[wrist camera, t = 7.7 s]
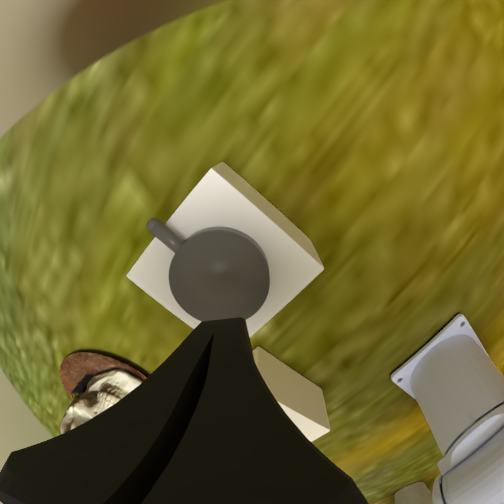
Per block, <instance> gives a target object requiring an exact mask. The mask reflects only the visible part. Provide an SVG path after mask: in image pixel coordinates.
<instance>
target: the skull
mask: <svg viewBox="0 0 504 504" xmlns="http://www.w3.org/2000/svg"><path fill="white" fill-rule="evenodd" d="M82 362H83V363H82ZM60 375H61V379H62V382H63V384H64V387H65V389H66V391H67V392H68V393H69V395H70V397H71V398H72V399H73V396H72V393H74V392H76V393H79V394H78V395H77V396H76V395H75V397H74V399H73V401H72V403H71V404H70V406H69V408H68V409H67V411H66V413H65V415H64V417H63V419H62V422H61V425H60V427H61V434H63V433H65V432H67V431H70V430H72V429H73V428H75V427H77V426H79V425H81V424H83V423H85V422H87V421H88V420H90V419H92V418H93V417H95V416H96V415H98V414H100V413H101V412H103V411H104V410H106V409H108V408H109V407H111V406H112V405H114V404H115V403H117V402H118V401H119V400H121V399H122V398H123V397H125V396H126V395H127V394H129V393H130V392H131V391H132V390H134V389H135V388H136V387H137V386H139V385H140V384H141V383H142V382H143V381H144V380H145V379H146V378H147V377H146V376H144V375H143V374H142V373H140V372H139V371H138V370H135V369H133V367H131V366H129V365H127V364H125V363H122V362H120V361H118V360H115V359H112V358H110V357H106V356H103V355H101V354H100V355H99V354H97V353H91V352H90V353H87V352H86V353H85V352H81V353H80V351H79V352H78V353H73V354H71V355H68V356H67V357H66V358H65V359H64V360H63V362H62V364H61V366H60ZM76 393H74V394H76Z"/></svg>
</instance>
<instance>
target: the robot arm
mask: <svg viewBox="0 0 504 504" xmlns="http://www.w3.org/2000/svg"><path fill="white" fill-rule="evenodd" d="M399 378H400V379H399ZM391 380H392V381H393V382H394V383H395V384H397V385H398V386H399V387H400V388H402V389H403V390H404V391H405V392H407V393H408V394H409V395H410V396H412V397H413V398H414V399H415V400H417V402H418V404H419V406H420V408H421V410H422V412H423V415H424V417H425V419H426V421H427V423H428V425H429V427H430V429H431V431H432V434H433V436H434V438H435V440H436V442H437V445H438V447H439V449H440V451H441V454H442V456H443V459H442V460H441V461H439V462H438V463H437V465H438V468H439V470H440V474H439V475H438V476H437V477H436V478H435V481H434V484H433V490H432V502H433V504H504V375H503V374H502V373H501V371H500V370H499V369H498V368H497V366H496V365H495V364H494V363H493V362H492V360H491V359H490V357H489V355H488V354H487V352H486V350H485V349H484V347H483V345H482V344H481V342H480V340H479V339H478V337H477V335H476V334H475V332H474V331H473V329H472V327H471V326H470V324H469V323H468V321H467V320H466V318H465V316H464V315H463V314H458V315H457V316H456V317H455V318H454V319H453V320H452V321H451V322H450V323H449V324H448V325H446V326H445V327H444V328H443V329H442V330H441V331H440V332H439V333H438V334H437V335H436V336H435V337H434V338H433V339H432V340H431V341H430V342H428V343H427V344H426V345H425V346H424V347H423V348H422V349H421V350H420V351H418V352H417V353H416V354H415V355H414V356H413V357H411V358H410V359H409V360H408V361H407V362H406V363H404V364H403V365H402V366H401V367H400V368H398V369H397V370H396V371H395V372H393V373H392V374H391ZM0 501H1V502H2V503H3V504H368V502H367V501H366V499H365V497H364V496H363V494H362V493H361V491H360V490H359V489H358V487H357V486H356V484H355V482H354V481H353V479H352V478H351V477H350V476H348V475H347V474H346V473H345V472H343V471H342V470H341V469H340V468H338V467H337V466H336V465H335V464H334V463H333V462H331V461H330V460H329V459H328V458H327V457H326V456H325V455H324V454H323V453H322V452H320V451H319V450H318V449H317V448H316V447H315V446H314V445H313V444H312V443H311V442H310V441H309V440H308V439H307V437H306V436H305V435H304V434H303V433H302V432H301V431H300V429H299V428H298V427H297V426H296V425H295V424H294V422H293V421H292V420H291V419H290V418H289V417H288V415H287V414H286V413H285V411H284V410H283V409H282V407H281V406H280V404H279V403H278V402H277V400H276V399H275V397H274V396H273V394H272V393H271V391H270V390H269V388H268V386H267V385H266V383H265V381H264V379H263V377H262V376H261V374H260V372H259V370H258V368H257V366H256V363H255V361H254V357H253V352H252V347H251V343H250V338H249V333H248V329H247V324H246V320H245V319H244V318H242V317H237V318H228V319H220V320H211V321H202V322H201V323H200V324H199V325H198V326H197V327H196V328H195V329H194V330H193V331H192V332H191V333H190V334H189V336H188V337H187V338H186V339H185V340H184V341H183V342H182V343H181V344H180V345H179V347H178V348H177V349H176V350H175V351H174V352H173V353H172V354H171V355H170V356H169V357H168V358H167V359H166V360H165V361H164V362H163V363H162V364H161V365H160V366H159V367H158V368H157V369H156V370H155V371H154V372H153V373H152V374H151V375H150V376H149V377H147V378H146V379H145V380H144V381H143V382H142V383H141V384H140V385H139V386H137V387H136V388H135V389H134V390H132V391H131V392H130V393H129V394H127V395H126V396H125V397H123V398H122V399H121V400H119V401H118V402H117V403H115V404H114V405H112V406H111V407H109V408H108V409H106V410H104V411H103V412H101V413H100V414H98V415H96V416H95V417H93V418H92V419H90V420H88V421H87V422H85V423H83V424H81V425H79V426H77V427H75V428H73V429H72V430H70V431H67V432H65V433H63V434H61V435H59V436H57V437H54V438H52V439H50V440H47V441H44V442H41V443H39V444H36V445H33V446H30V447H27V448H24V449H21V450H18V451H14V452H12V453H11V454H10V456H9V457H8V459H7V461H6V463H5V465H4V466H3V468H2V470H1V472H0Z"/></svg>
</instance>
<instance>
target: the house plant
mask: <svg viewBox="0 0 504 504" xmlns="http://www.w3.org/2000/svg"><path fill="white" fill-rule="evenodd" d="M394 497H395V504H433V502H432V494H431V493H430V491H429V489H428V488H427V486H426V484H425V483H424V482H416V483H413V484H410V485H408V486H406V487H404V488H402V489H400V490H399V491H397V492H396V493H395V495H394Z"/></svg>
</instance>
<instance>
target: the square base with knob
mask: <svg viewBox="0 0 504 504" xmlns="http://www.w3.org/2000/svg"><path fill="white" fill-rule="evenodd" d="M165 225H166V226H168V227H169V228H170V229H171V230H172V231H173V232H175V233H176V234H177V235H178V236H179V237H181V238H182V239H183V240H184V241H185V240H186V239H187V238H188V237H190V236H191V235H192V234H194V233H196V232H197V231H200V230H202V229H205V228H209V227H229V228H233V229H236V230H239V231H241V232H243V233H245V234H247V235H248V236H250V237H251V238H252V239H254V240H255V241H256V242H257V243H258V245H259V246H260V247H261V248H262V250H263V252H264V254H265V256H266V258H267V261H268V265H269V275H270V287H269V293H268V295H267V298H266V300H265V302H264V304H263V305H262V307H261V308H260V309H259V310H258V311H257V312H256V313H255V314H254V315H253V316H251V317H250V318H248V319H246V324H247V329H248V333H249V338H250V337H251V336H252V335H253V334H255V333H256V332H257V331H258V330H259V329H260V328H261V327H262V326H264V325H265V324H266V323H267V322H268V321H269V320H270V319H271V318H272V317H274V316H275V315H276V314H277V313H278V312H279V311H280V310H281V309H282V308H283V307H284V306H286V305H287V304H288V303H289V302H290V301H291V300H292V299H293V298H294V297H295V296H296V295H297V294H299V293H300V292H301V291H302V290H303V289H304V288H305V287H306V286H307V285H308V284H309V283H310V282H311V281H312V280H313V279H314V278H315V277H316V276H318V275H319V274H320V273H321V272H322V271H323V270H324V269H325V268H324V266H323V264H322V262H321V260H320V258H319V256H318V254H317V252H316V250H315V248H314V246H313V244H312V242H311V240H310V239H309V238H308V237H307V236H306V235H305V234H304V233H303V232H302V231H301V230H300V229H299V228H297V227H296V226H295V225H294V224H293V223H292V222H291V221H290V220H289V219H288V218H287V217H285V216H284V215H283V214H282V213H281V212H280V211H279V210H278V209H277V208H275V207H274V206H273V205H272V204H271V203H270V202H269V201H268V200H267V199H265V198H264V197H263V196H262V195H261V194H260V193H259V192H258V191H256V190H255V189H254V188H253V187H252V186H251V185H250V184H248V183H247V182H246V181H245V180H244V179H243V178H242V177H240V176H239V175H238V174H237V173H236V172H235V171H234V170H232V169H231V168H230V167H229V166H228V165H227V164H225V163H224V162H221V163H219V164H218V165H216V166H214V167H212V168H211V169H210V170H209V171H208V172H207V174H206V175H205V176H204V177H203V178H202V180H201V181H200V182H199V183H198V184H197V185H196V187H195V188H194V189H193V190H192V191H191V193H190V194H189V195H188V196H187V198H186V199H185V200H184V201H183V202H182V204H181V205H180V206H179V207H178V209H177V210H176V211H175V212H174V214H173V215H172V216H171V217H170V219H169V220H168V221H167V222H166V224H165ZM174 255H175V253H174V252H173V251H172V250H171V249H169V248H168V247H167V246H166V245H165V244H163V243H162V242H161V241H160V240H159V239H157V238H156V237H155V238H154V239H153V241H152V242H151V243H150V244H149V246H148V247H147V248H146V250H145V251H144V252H143V254H142V255H141V256H140V258H139V259H138V261H137V262H136V263H135V265H134V266H133V267H132V269H131V270H130V272H129V273H128V274H127V277H128V278H129V279H130V280H131V281H133V282H134V283H135V284H136V285H138V286H139V287H140V288H141V289H142V290H144V291H145V292H146V293H147V294H149V295H150V296H151V297H152V298H154V299H155V300H156V301H157V302H159V303H160V304H161V305H163V306H164V307H165V308H166V309H168V310H169V311H170V312H172V313H173V314H174V315H176V316H177V317H178V318H179V319H181V320H182V321H183V322H185V323H186V324H188V325H189V326H190V327H192V328H193V329H195V328H196V327H197V326H198V325H199V324H200V323H201V322H202V321H199V320H197V319H195V318H193V317H192V316H190V315H189V314H188V313H186V312H185V311H184V310H183V309H182V308H181V307H180V306H179V304H178V303H177V302H176V300H175V298H174V296H173V294H172V292H171V289H170V285H169V267H170V264H171V261H172V259H173V257H174Z"/></svg>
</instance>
